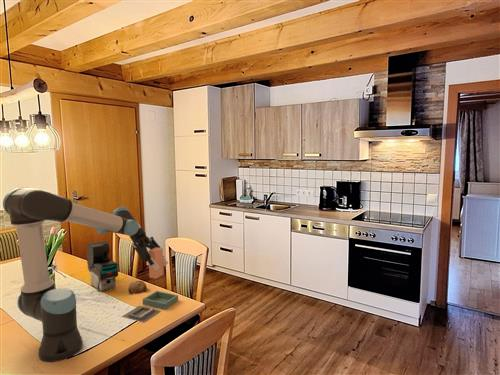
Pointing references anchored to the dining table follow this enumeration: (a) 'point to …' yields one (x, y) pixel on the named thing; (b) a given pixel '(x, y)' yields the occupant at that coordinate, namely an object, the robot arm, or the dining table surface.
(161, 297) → the tray
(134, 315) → the gray recessed plate
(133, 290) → the bread roll
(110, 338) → the dining table surface
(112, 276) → the bill acceptor
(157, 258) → the salmon pink block
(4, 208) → the robot arm
